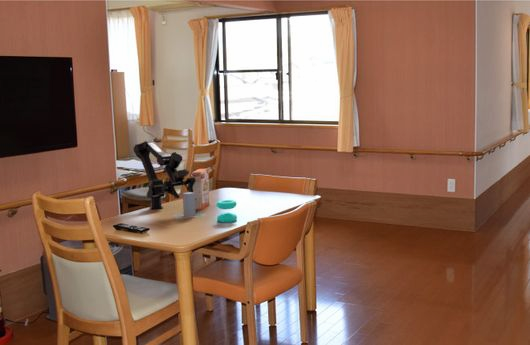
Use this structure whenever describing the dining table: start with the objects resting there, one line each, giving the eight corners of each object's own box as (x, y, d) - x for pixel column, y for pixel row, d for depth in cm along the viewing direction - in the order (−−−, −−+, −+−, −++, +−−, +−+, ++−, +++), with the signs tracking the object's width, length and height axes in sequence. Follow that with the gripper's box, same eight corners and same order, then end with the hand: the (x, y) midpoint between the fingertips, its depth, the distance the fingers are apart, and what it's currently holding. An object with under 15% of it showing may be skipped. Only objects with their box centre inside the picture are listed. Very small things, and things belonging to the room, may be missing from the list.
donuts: (224, 198, 327) (240, 200, 322) (224, 217, 329) (241, 219, 323) (212, 202, 319) (228, 203, 314) (213, 222, 320) (229, 223, 315)
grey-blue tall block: (183, 215, 335) (182, 193, 333) (190, 214, 338) (189, 191, 336) (188, 217, 332) (187, 194, 330) (195, 215, 335) (194, 192, 333)
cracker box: (203, 210, 350) (201, 172, 347) (192, 209, 351) (190, 172, 348) (210, 204, 364) (208, 168, 361) (200, 204, 365) (198, 168, 362)
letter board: (172, 215, 338) (172, 214, 338) (202, 212, 343) (202, 212, 343) (176, 220, 327) (176, 219, 327) (207, 217, 331) (207, 216, 331)
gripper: (163, 166, 331) (176, 189, 324) (193, 162, 343) (206, 184, 336) (156, 179, 338) (168, 202, 331) (185, 175, 350) (198, 197, 343)
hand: (185, 196), depth 335 cm, fingers open, 9 cm apart
